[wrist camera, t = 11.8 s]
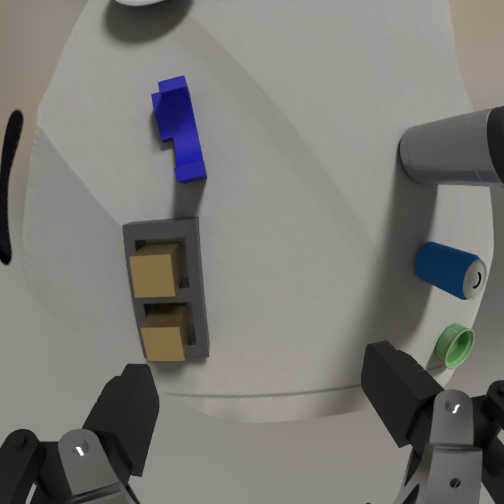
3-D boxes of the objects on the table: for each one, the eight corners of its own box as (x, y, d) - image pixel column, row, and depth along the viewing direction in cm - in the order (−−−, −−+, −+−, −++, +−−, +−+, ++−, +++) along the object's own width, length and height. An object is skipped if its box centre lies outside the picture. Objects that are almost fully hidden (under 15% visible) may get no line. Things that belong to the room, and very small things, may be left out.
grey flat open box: (198, 217, 35) (195, 219, 32) (209, 344, 39) (208, 356, 35) (131, 222, 34) (122, 225, 31) (149, 345, 38) (144, 357, 34)
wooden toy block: (186, 300, 36) (179, 327, 29) (190, 329, 37) (184, 360, 30) (155, 301, 36) (140, 327, 28) (160, 330, 37) (148, 361, 29)
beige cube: (181, 240, 35) (170, 254, 27) (184, 274, 36) (175, 296, 28) (148, 243, 34) (129, 256, 27) (152, 276, 35) (135, 297, 28)
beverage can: (432, 281, 41) (478, 305, 29) (407, 275, 40) (456, 300, 29) (442, 246, 40) (492, 262, 28) (418, 236, 39) (471, 251, 27)
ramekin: (427, 362, 45) (439, 373, 41) (440, 323, 44) (454, 332, 39) (454, 355, 46) (465, 364, 42) (466, 318, 45) (479, 326, 40)
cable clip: (156, 101, 31) (145, 86, 26) (189, 92, 32) (184, 75, 26) (173, 186, 34) (163, 185, 28) (207, 177, 34) (204, 174, 29)
